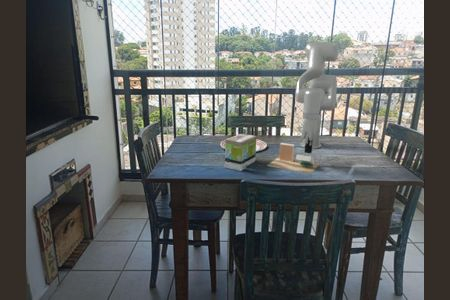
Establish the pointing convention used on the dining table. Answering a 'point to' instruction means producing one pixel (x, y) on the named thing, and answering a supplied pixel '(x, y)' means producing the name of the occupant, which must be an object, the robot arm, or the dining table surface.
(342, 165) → the dining table surface
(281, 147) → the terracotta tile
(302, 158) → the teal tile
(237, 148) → the tea box
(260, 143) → the dinner plate
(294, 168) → the striped wooden board
